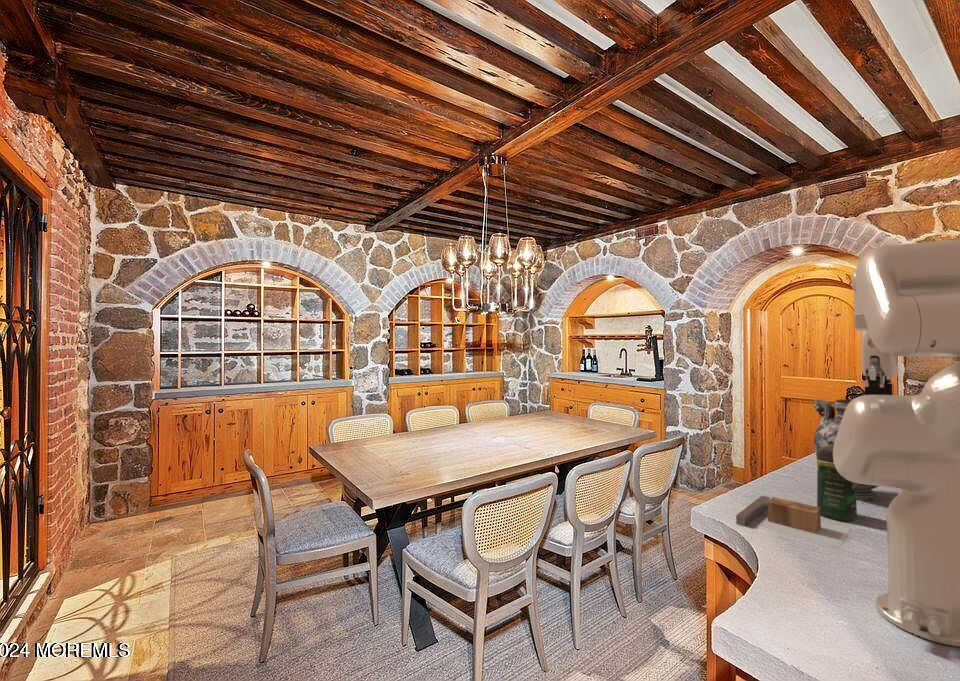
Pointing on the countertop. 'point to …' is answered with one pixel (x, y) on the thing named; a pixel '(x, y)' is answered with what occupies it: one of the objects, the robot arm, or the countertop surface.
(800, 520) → the walnut block
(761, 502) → the steel bar
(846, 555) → the countertop surface
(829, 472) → the coffee jar
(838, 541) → the mat
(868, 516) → the countertop surface
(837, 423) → the decorative vase
